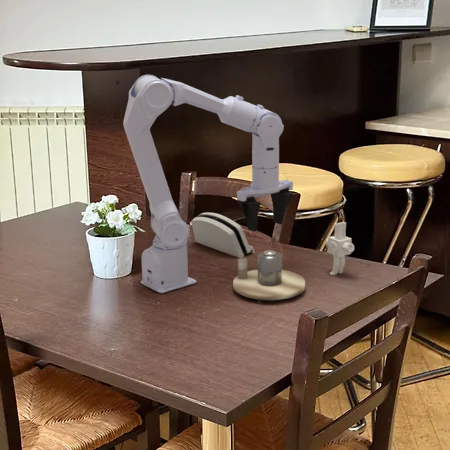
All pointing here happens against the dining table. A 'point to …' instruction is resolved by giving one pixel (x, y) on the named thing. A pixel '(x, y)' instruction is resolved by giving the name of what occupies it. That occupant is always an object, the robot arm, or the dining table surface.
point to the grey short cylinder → (269, 268)
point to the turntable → (250, 288)
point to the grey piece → (220, 234)
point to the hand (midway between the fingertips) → (265, 226)
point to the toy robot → (339, 247)
